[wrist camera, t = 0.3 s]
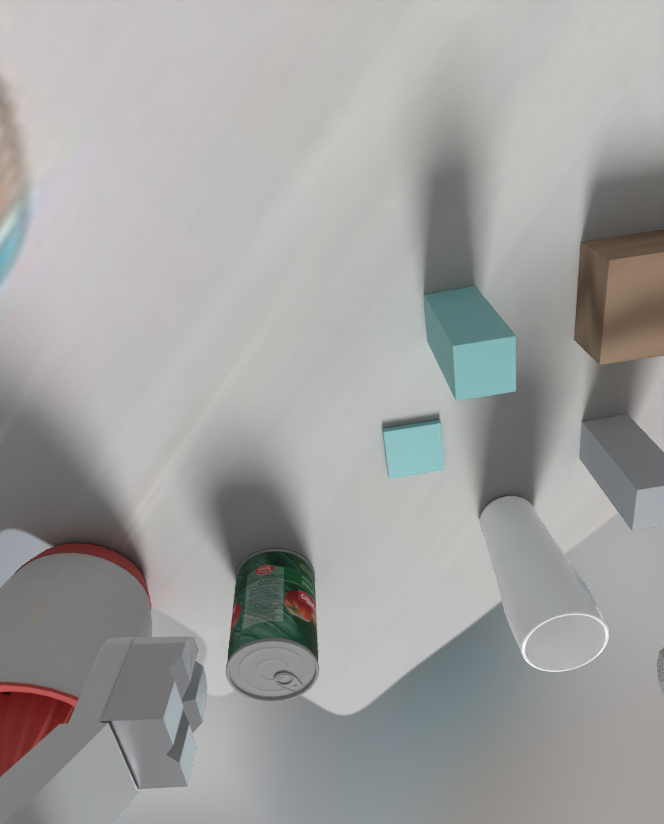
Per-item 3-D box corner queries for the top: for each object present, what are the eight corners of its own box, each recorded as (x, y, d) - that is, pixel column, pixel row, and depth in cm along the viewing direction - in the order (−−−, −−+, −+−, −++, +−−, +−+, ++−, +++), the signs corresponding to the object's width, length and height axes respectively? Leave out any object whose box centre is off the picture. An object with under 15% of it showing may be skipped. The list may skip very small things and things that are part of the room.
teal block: (423, 294, 47) (452, 346, 38) (475, 285, 47) (516, 336, 38) (427, 341, 49) (456, 401, 40) (476, 333, 49) (516, 391, 40)
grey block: (581, 421, 54) (637, 490, 45) (627, 414, 54) (691, 481, 45) (579, 458, 56) (632, 531, 47) (623, 451, 56) (684, 523, 47)
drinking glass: (549, 489, 57) (624, 614, 44) (528, 544, 61) (592, 675, 48) (480, 483, 57) (535, 609, 44) (463, 539, 60) (509, 671, 47)
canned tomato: (219, 576, 61) (205, 672, 51) (277, 535, 58) (274, 627, 49) (274, 617, 64) (270, 714, 54) (331, 579, 62) (338, 673, 52)
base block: (579, 241, 46) (609, 260, 42) (685, 225, 46) (726, 242, 41) (573, 338, 50) (599, 365, 46) (670, 324, 50) (706, 349, 45)
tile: (382, 428, 53) (383, 432, 52) (439, 419, 53) (441, 423, 52) (388, 474, 55) (389, 478, 55) (442, 466, 55) (444, 470, 55)
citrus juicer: (87, 667, 66) (14, 881, 49) (-32, 564, 58) (-171, 777, 41) (209, 613, 63) (176, 822, 46) (100, 498, 55) (11, 697, 38)
